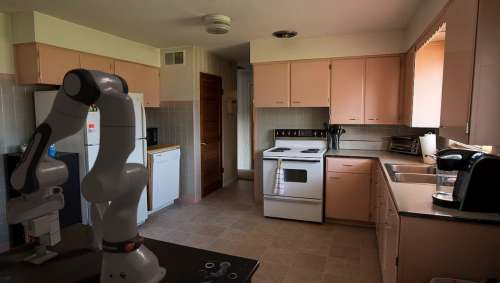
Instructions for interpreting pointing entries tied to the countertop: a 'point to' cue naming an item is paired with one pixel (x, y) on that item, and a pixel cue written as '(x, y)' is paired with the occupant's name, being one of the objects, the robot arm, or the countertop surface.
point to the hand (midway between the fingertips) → (38, 226)
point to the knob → (39, 225)
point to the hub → (40, 255)
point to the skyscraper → (96, 225)
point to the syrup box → (51, 232)
